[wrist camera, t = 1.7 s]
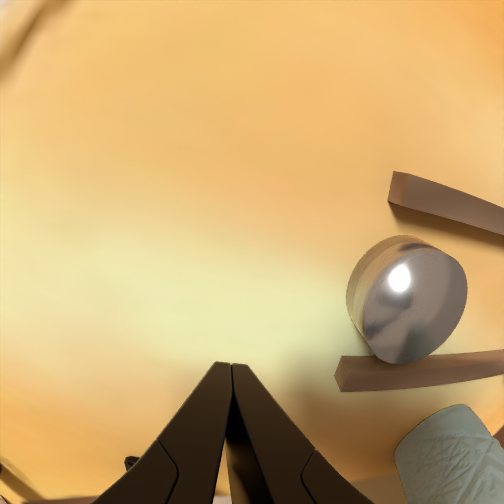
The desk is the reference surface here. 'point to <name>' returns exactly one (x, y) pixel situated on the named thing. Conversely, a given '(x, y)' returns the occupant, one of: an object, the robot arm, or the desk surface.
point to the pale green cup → (451, 460)
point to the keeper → (406, 298)
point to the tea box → (2, 501)
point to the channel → (431, 366)
